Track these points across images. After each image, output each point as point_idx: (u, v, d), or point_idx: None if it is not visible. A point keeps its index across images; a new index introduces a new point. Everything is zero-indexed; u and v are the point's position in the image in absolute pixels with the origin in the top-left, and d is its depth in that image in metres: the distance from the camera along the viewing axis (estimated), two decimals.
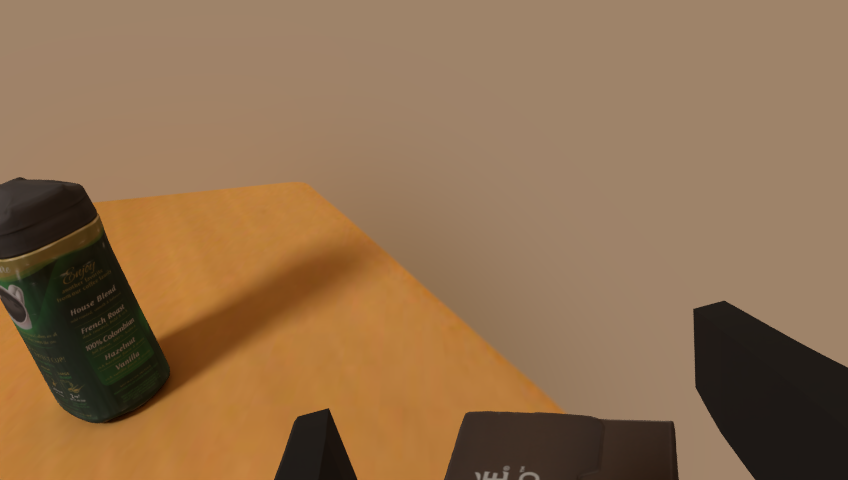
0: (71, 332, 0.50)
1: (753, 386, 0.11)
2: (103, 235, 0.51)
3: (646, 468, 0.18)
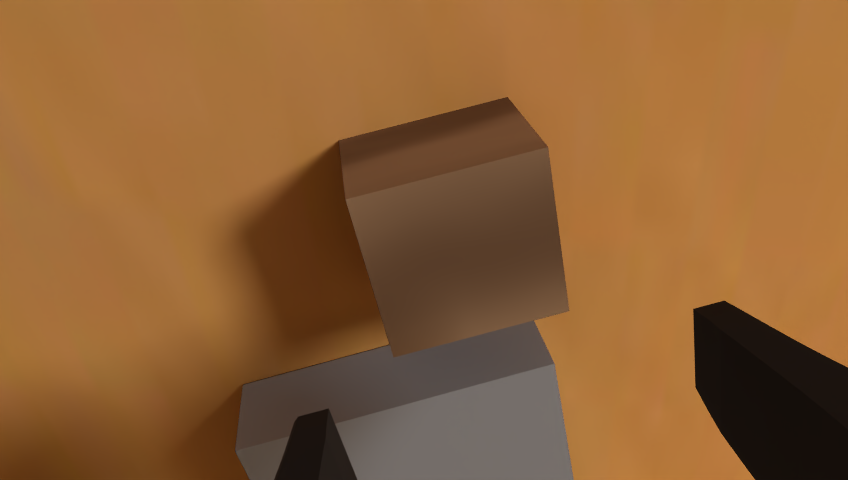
0: None
1: (753, 386, 0.11)
2: None
3: None
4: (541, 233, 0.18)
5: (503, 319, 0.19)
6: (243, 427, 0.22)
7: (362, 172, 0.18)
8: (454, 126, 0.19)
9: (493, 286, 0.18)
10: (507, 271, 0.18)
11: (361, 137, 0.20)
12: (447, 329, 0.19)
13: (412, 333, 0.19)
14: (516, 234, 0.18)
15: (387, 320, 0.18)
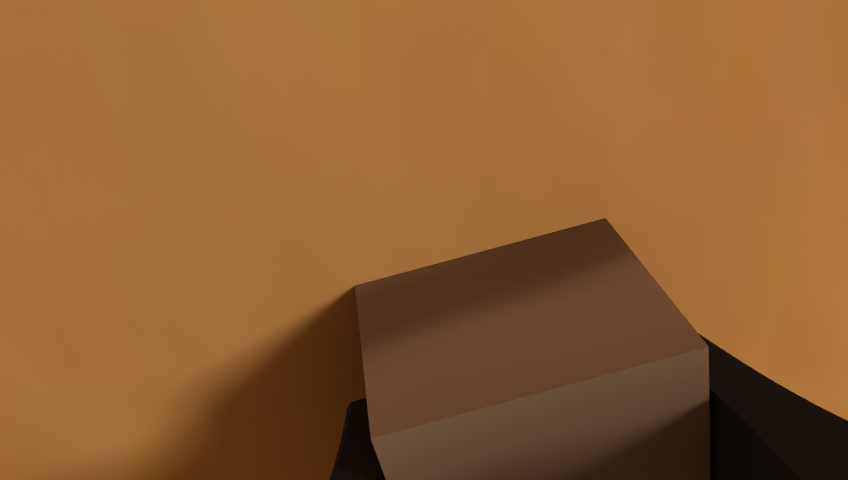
0: None
1: None
2: None
3: None
4: (682, 464, 0.11)
5: None
6: None
7: (395, 372, 0.11)
8: (534, 278, 0.12)
9: None
10: None
11: (389, 286, 0.13)
12: None
13: None
14: (643, 468, 0.11)
15: None
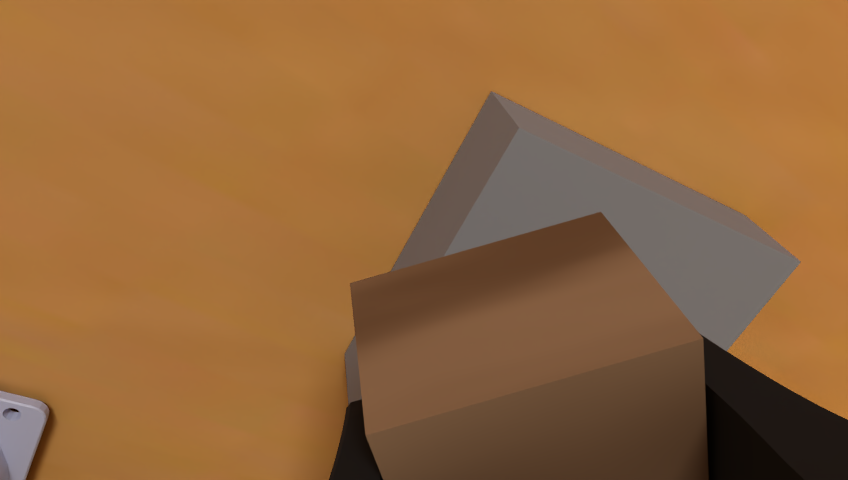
0: None
1: None
2: None
3: None
4: (680, 456, 0.11)
5: None
6: (350, 391, 0.22)
7: (390, 368, 0.11)
8: (529, 272, 0.12)
9: None
10: None
11: (385, 283, 0.13)
12: None
13: None
14: (640, 461, 0.11)
15: None
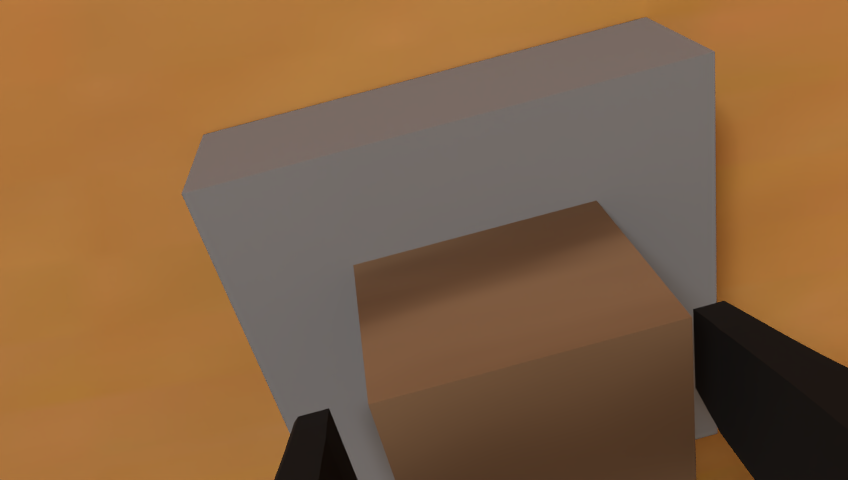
0: None
1: (753, 386, 0.11)
2: None
3: None
4: (668, 433, 0.12)
5: None
6: None
7: (392, 343, 0.11)
8: (527, 256, 0.13)
9: None
10: None
11: (387, 265, 0.14)
12: None
13: None
14: (631, 436, 0.11)
15: None
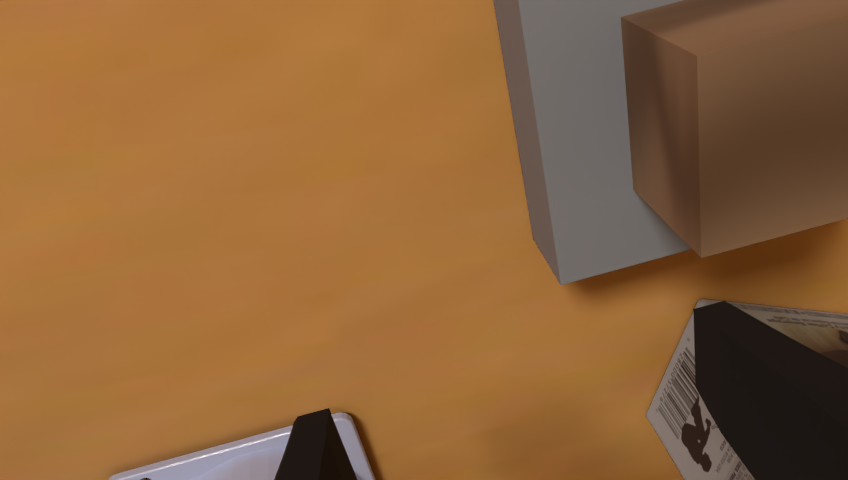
0: None
1: (753, 386, 0.11)
2: None
3: None
4: None
5: (827, 213, 0.17)
6: (550, 264, 0.22)
7: (690, 35, 0.15)
8: None
9: (827, 171, 0.16)
10: (846, 153, 0.16)
11: (651, 12, 0.17)
12: (766, 224, 0.17)
13: (728, 228, 0.16)
14: None
15: (705, 211, 0.16)
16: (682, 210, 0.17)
